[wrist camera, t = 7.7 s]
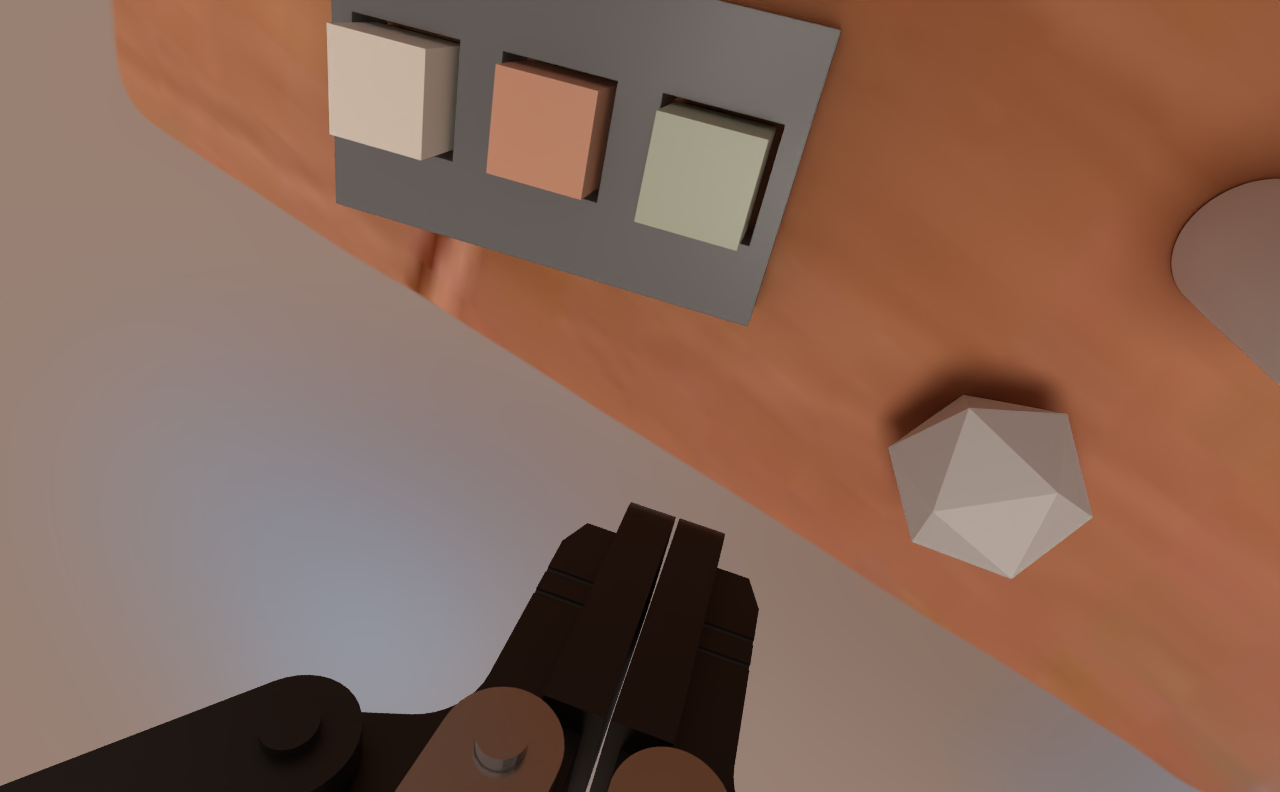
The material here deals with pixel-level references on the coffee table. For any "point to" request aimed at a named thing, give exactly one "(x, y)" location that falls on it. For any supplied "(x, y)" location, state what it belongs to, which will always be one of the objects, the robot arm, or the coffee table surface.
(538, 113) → the key terracotta
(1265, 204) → the mug
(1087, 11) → the coffee table surface
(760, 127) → the key sage
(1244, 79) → the coffee table surface
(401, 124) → the key ivory
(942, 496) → the die
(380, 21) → the key panel
